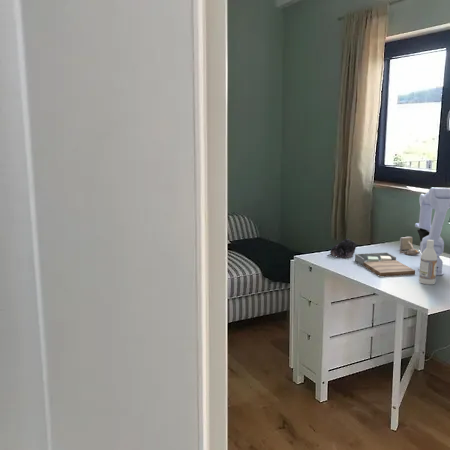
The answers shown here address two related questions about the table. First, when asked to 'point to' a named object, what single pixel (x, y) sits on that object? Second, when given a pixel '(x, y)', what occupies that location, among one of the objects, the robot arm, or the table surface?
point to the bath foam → (428, 264)
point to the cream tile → (385, 258)
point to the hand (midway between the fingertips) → (423, 243)
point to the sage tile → (372, 259)
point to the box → (363, 257)
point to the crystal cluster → (344, 249)
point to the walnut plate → (389, 268)
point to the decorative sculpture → (407, 246)
